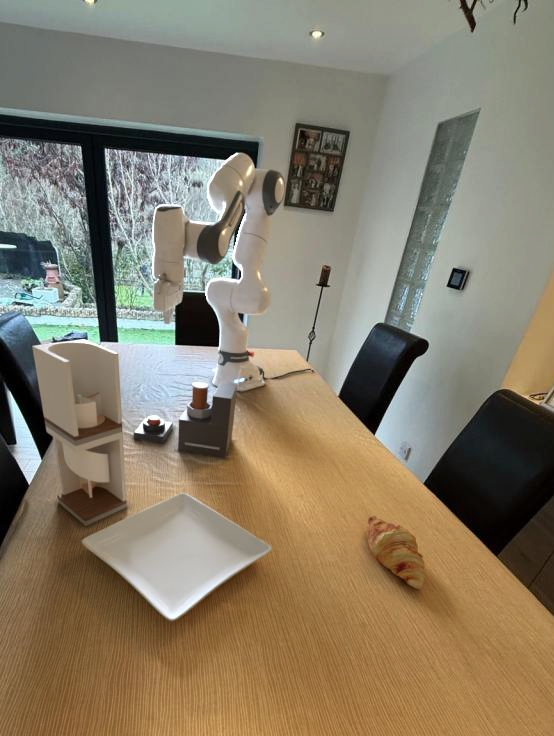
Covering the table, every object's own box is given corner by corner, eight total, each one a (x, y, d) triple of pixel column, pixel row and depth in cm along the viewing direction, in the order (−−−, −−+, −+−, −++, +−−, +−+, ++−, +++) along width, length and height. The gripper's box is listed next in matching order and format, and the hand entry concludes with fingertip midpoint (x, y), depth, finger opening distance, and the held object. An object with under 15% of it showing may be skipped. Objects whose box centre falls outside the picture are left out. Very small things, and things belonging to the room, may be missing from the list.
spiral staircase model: (58, 502, 95) (32, 345, 76) (98, 486, 102) (84, 338, 82) (85, 525, 89) (64, 361, 70) (126, 507, 96) (118, 353, 76)
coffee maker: (187, 434, 130) (189, 377, 120) (231, 440, 129) (237, 384, 119) (177, 451, 120) (179, 391, 110) (225, 459, 119) (231, 399, 109)
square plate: (272, 560, 85) (275, 546, 83) (170, 637, 68) (171, 621, 65) (183, 502, 99) (183, 488, 97) (80, 553, 82) (78, 537, 80)
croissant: (424, 603, 83) (455, 577, 80) (392, 591, 79) (423, 563, 75) (374, 534, 100) (397, 510, 97) (345, 521, 95) (369, 496, 92)
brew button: (149, 419, 128) (149, 414, 127) (161, 421, 128) (161, 416, 127) (146, 424, 125) (146, 419, 124) (157, 426, 125) (157, 420, 124)
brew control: (145, 424, 134) (145, 412, 131) (172, 428, 133) (172, 416, 131) (133, 439, 124) (133, 426, 122) (163, 443, 124) (163, 431, 121)
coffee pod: (204, 410, 122) (206, 381, 117) (208, 416, 118) (210, 387, 114) (189, 410, 121) (190, 382, 116) (193, 417, 117) (194, 387, 112)
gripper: (169, 277, 110) (168, 331, 118) (187, 270, 127) (185, 318, 135) (146, 274, 111) (147, 328, 119) (167, 268, 128) (167, 316, 136)
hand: (168, 323), depth 127 cm, fingers closed
